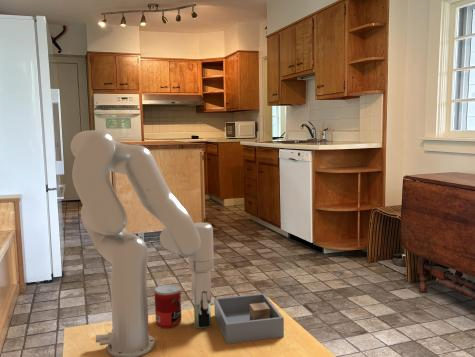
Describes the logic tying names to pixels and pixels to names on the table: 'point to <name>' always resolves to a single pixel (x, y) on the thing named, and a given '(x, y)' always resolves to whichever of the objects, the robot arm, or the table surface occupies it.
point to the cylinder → (196, 312)
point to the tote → (246, 319)
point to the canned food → (168, 305)
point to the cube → (259, 311)
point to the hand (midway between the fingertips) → (202, 321)
